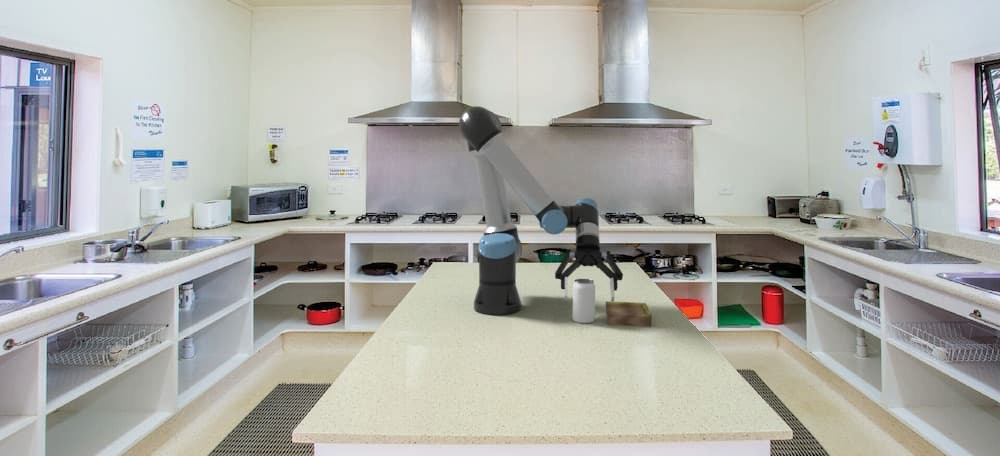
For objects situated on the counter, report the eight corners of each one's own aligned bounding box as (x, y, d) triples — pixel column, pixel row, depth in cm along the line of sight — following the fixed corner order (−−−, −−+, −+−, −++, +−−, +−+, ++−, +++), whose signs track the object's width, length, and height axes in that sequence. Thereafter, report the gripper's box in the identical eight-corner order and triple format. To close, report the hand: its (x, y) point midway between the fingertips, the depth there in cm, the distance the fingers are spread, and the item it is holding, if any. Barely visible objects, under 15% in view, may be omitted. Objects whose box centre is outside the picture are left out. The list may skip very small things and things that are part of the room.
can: (572, 323, 144) (572, 282, 143) (572, 316, 151) (573, 277, 149) (594, 324, 143) (595, 283, 142) (594, 317, 150) (595, 278, 148)
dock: (608, 324, 143) (608, 312, 143) (605, 312, 155) (605, 301, 154) (651, 326, 141) (651, 314, 141) (645, 314, 153) (645, 302, 153)
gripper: (626, 247, 161) (631, 305, 148) (548, 246, 164) (547, 303, 151) (628, 233, 155) (634, 293, 142) (548, 232, 158) (546, 291, 145)
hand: (589, 298), depth 147 cm, fingers open, 13 cm apart
